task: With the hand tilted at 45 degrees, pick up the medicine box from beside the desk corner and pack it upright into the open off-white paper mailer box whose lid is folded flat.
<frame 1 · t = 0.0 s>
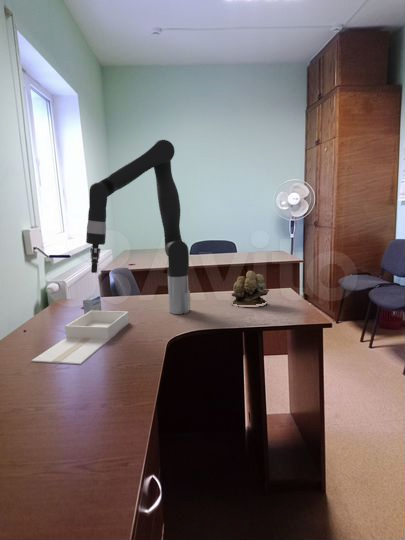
hand: (94, 271, 139), 22 cm above the table, tool pointing down, fingers open, 8 cm apart
medicine box: (93, 316, 152), on the table
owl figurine: (250, 305, 162), on the table
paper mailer: (99, 330, 133), on the table
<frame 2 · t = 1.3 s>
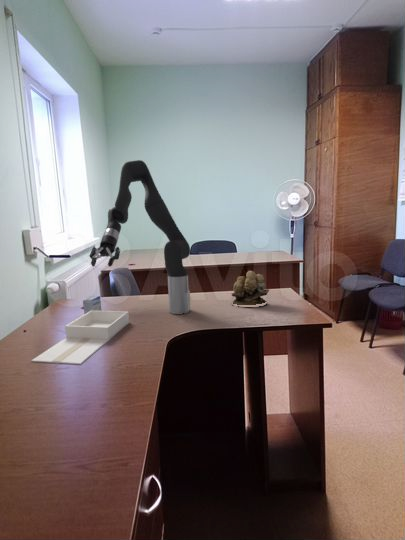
hand: (101, 265, 158), 21 cm above the table, tool tilted 45°, fingers open, 8 cm apart
nothing on the table moved.
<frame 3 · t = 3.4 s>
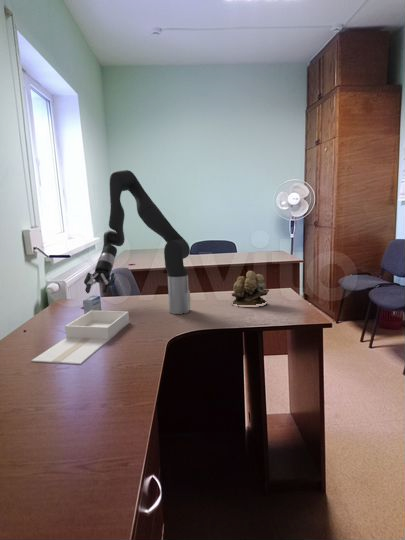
hand: (95, 292, 154), 10 cm above the table, tool tilted 45°, fingers open, 8 cm apart
nothing on the table moved.
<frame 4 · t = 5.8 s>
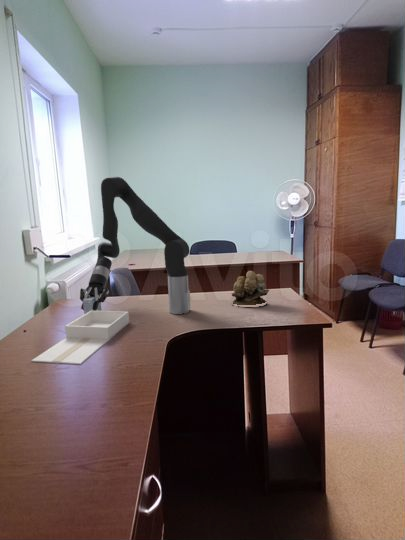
hand: (88, 309, 147), 4 cm above the table, tool tilted 45°, fingers closed on medicine box, 4 cm apart
medicine box: (93, 316, 152), on the table, touching gripper
everything else where it was.
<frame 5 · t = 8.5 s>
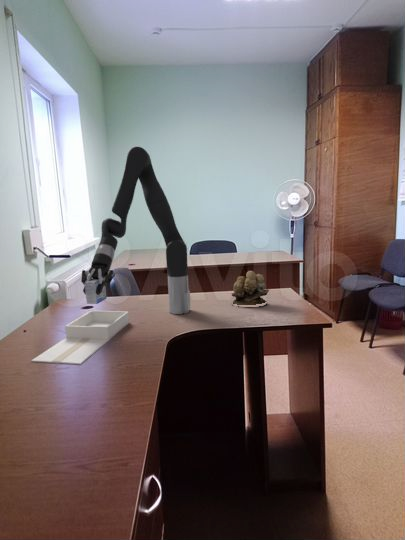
hand: (91, 293, 128), 16 cm above the table, tool tilted 45°, fingers closed on medicine box, 4 cm apart
medicine box: (96, 301, 132), point 11 cm above the table, touching gripper
everything else where it was.
when the fingers open (6 cm above the table, at t = 11.4 s): medicine box drops 1 cm, resting on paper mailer.
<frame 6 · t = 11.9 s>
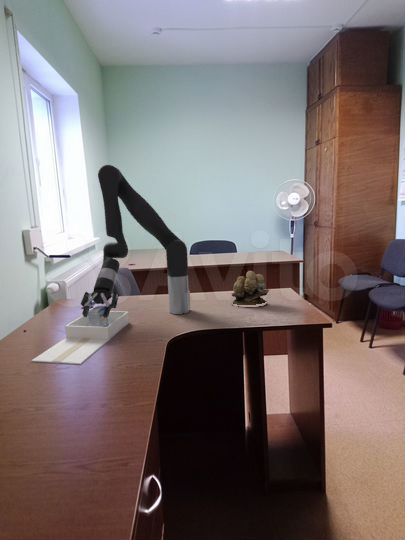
hand: (94, 316, 129), 7 cm above the table, tool tilted 45°, fingers open, 8 cm apart
medicine box: (99, 329, 133), resting on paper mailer
everything else where it was.
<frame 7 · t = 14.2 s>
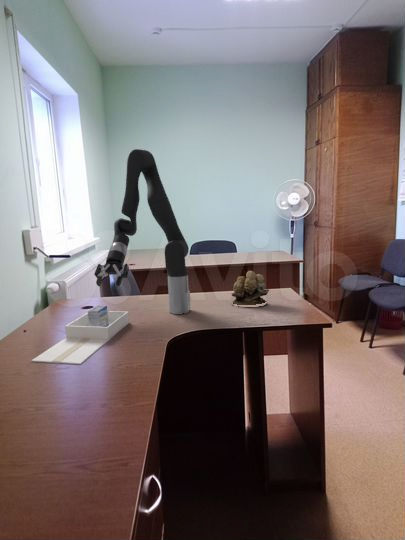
hand: (107, 285, 139), 16 cm above the table, tool tilted 45°, fingers open, 8 cm apart
nothing on the table moved.
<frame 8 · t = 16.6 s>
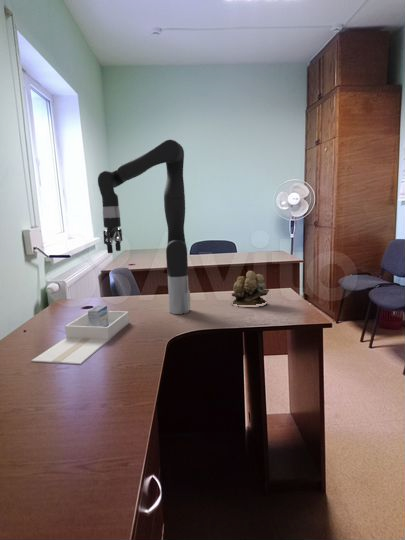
hand: (114, 251, 155), 28 cm above the table, tool pointing down, fingers open, 8 cm apart
nothing on the table moved.
at the end: medicine box inside the target area on the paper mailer (0.0 cm from its centre), point 0.3 cm above the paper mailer's base; medicine box tilted 0°; the gripper is holding nothing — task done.
